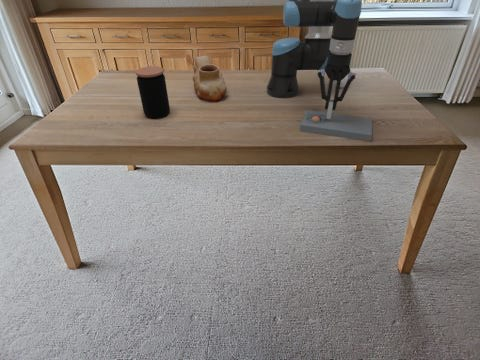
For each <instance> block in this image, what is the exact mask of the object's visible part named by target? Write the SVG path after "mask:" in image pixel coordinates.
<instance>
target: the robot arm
mask: <svg viewBox="0 0 480 360" xmlns="http://www.w3.org/2000/svg"><path fill="white" fill-rule="evenodd" d="M362 3H363V2H362V0H288V1H286V2H285V3H284V4H283V10H282V11H283V12H282V13H283V14H282V16H283V17H282V22H283V25H284V26H286V27H291V28H301V27H302V28H303V27H304V28H307V27H308V33H306V35H305V36H304V40H303V41H301V39H300V38H298V37H286V38H281V39H278V40H275V42H274V43H273V45H272V52H271V55H272V56H271V57H272V58H271V70H270V71H271V72H270V78H269V81H268V83H267V85H266V93H267V95H269V96H271V97H274V98H279V99H287V98H294V97H296V96H297V95H299V91H300V87H299V83H298V76H297V75H298V74H297V73H298V71H318V72H317V76H318V79H319V85H320V86H319V87H320V94H321V95H320V97H321V100H325V106H324V109H325V110H326V112H327V117H326V119H330V118H331V114H332V113H333V111H336V109H337V104H338V102H342V101H343V100H344V98H345V95H346V94H347V92H348V90H349V88H350V85H351V83H352V82H353V81H354V80H355V79H356V73H353V72H352V71H351V68H350V67H351V66H350V65H351V61H352V56H353V54H352V52H354V51H353V50H354V46H355V45H354V44H355V41H356V35H357V31H358V25H359V21H360V18H361V13H362V6H363V4H362ZM330 27H332V28H331V34H330ZM347 75H348V80H347V82H346V85H345V87H343V88H342V91H341V93H340V95H339V92H340V89H341V88H340V84H341V80H343V79H344V78H345V77H346V76H347ZM325 76H326V77H327V78H328V79H329V80H328V81H329V82H328V87H327V93H326V83H325V82H326V81H325ZM334 80H336V81H337V84H336V85H335V90H334V96H333V99H331V95H332V92H333V85H334Z"/></svg>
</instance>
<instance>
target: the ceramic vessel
mask: <svg viewBox="0 0 480 360" xmlns="http://www.w3.org/2000/svg"><path fill="white" fill-rule="evenodd" d="M192 69H193V73H194V74H193V75H192V81H193V88H194V91H195V92H196V95H197V97H198V98H199V99H200V100H202V101H207V102H210V103H211V102H212V103H217V102H220V100H221V99H223V98H224V97H225V95H226V93H227V89H228V87H227V85H226V82H225V79H224V78H223V74H222V72H221V71H220V67H219V66H217V65H215V64H213V62H212V61H211V58H210V56H208V55H202V56H197V57H196V58H195V59H194V64H193V66H192Z"/></svg>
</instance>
